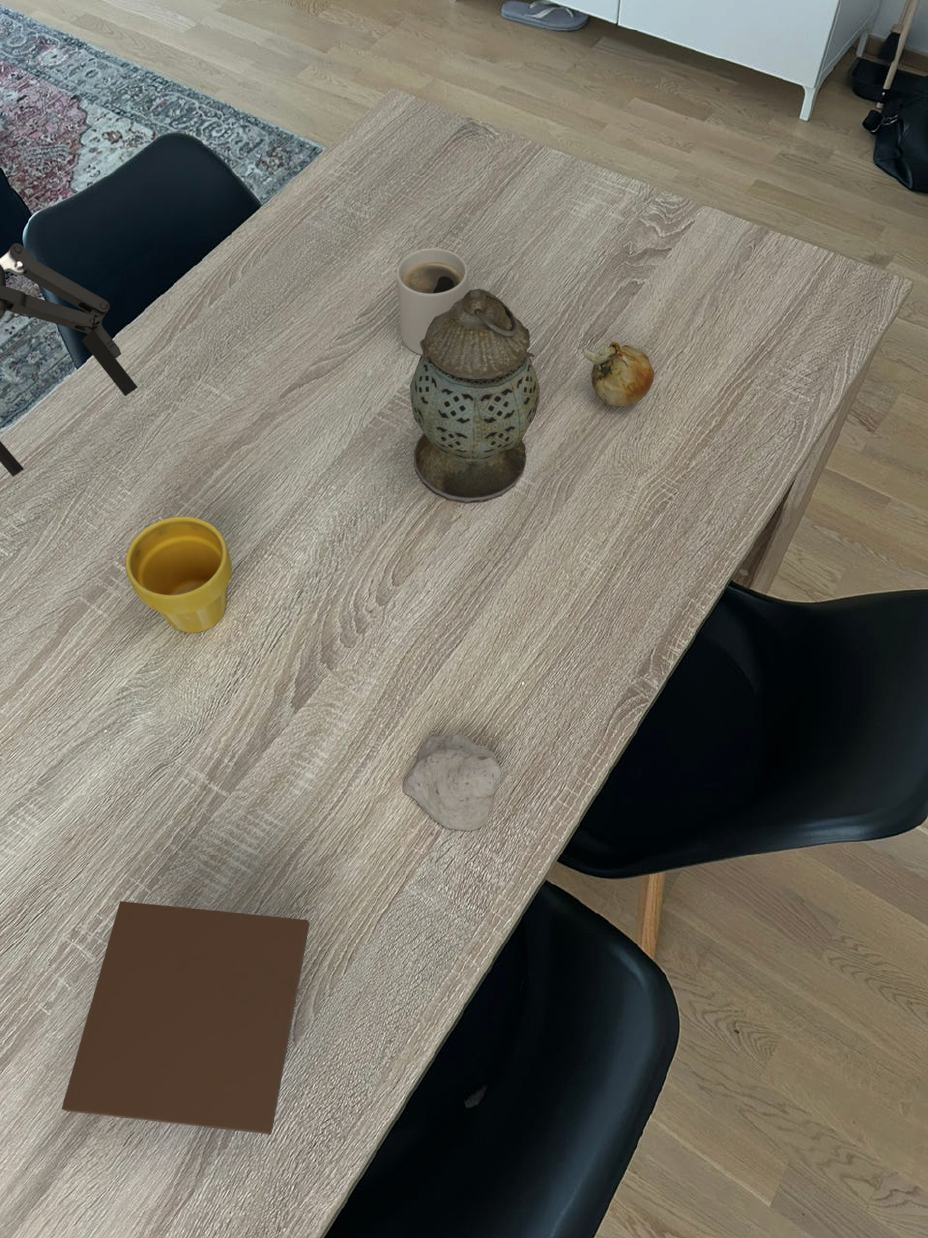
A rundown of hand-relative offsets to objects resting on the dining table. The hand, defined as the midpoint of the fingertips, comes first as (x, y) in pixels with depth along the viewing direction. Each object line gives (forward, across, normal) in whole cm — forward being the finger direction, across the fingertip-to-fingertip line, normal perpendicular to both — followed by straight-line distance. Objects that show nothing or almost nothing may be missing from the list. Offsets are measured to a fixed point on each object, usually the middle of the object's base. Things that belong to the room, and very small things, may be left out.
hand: (76, 431), depth 100 cm
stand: (+46, -29, -18) cm, 57 cm away
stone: (+47, +2, -18) cm, 50 cm away
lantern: (+29, +36, +1) cm, 46 cm away
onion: (+34, +55, -4) cm, 65 cm away
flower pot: (+22, 0, +7) cm, 23 cm away
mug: (+16, +50, +14) cm, 54 cm away
